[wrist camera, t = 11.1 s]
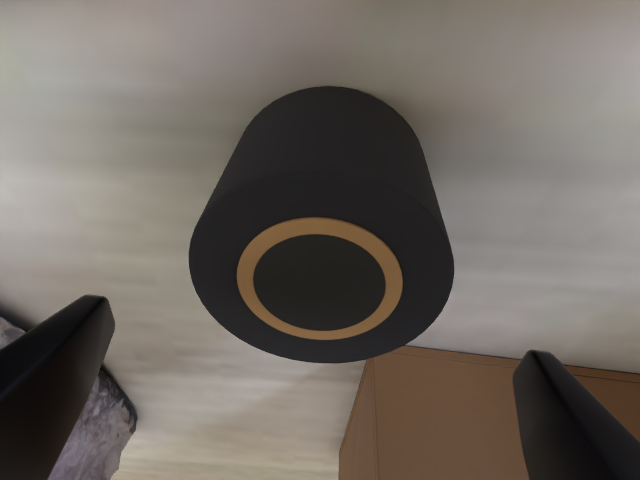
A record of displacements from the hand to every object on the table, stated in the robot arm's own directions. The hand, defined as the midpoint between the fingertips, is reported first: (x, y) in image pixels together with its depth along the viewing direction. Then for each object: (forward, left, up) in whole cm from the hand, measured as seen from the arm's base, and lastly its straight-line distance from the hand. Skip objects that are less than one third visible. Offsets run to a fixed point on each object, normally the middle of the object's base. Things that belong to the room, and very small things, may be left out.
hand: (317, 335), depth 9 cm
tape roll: (0, 0, -6) cm, 7 cm away
